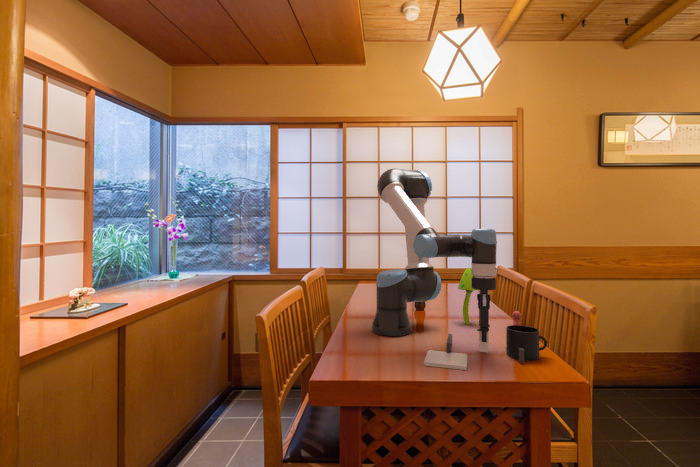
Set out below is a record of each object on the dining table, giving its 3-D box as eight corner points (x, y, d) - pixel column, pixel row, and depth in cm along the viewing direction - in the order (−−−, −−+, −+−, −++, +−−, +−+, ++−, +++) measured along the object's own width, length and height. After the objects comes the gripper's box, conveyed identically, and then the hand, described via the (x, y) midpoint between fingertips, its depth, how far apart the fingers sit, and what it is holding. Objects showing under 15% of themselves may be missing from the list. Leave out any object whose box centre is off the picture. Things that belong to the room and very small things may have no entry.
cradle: (446, 356, 118) (446, 314, 118) (448, 343, 132) (449, 306, 132) (527, 364, 111) (527, 320, 111) (520, 349, 125) (520, 310, 125)
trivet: (423, 365, 109) (423, 362, 109) (428, 353, 120) (428, 350, 120) (466, 370, 105) (466, 366, 105) (467, 357, 117) (467, 353, 117)
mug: (552, 363, 112) (553, 333, 113) (511, 361, 114) (511, 331, 114) (541, 353, 122) (541, 325, 122) (502, 351, 124) (503, 324, 124)
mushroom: (472, 330, 149) (472, 268, 149) (453, 327, 155) (454, 266, 155) (483, 327, 154) (483, 267, 154) (465, 323, 161) (465, 265, 161)
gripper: (498, 280, 111) (498, 359, 111) (494, 274, 127) (494, 343, 127) (471, 279, 113) (471, 356, 113) (471, 273, 129) (471, 341, 129)
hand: (483, 349), depth 120 cm, fingers open, 4 cm apart
